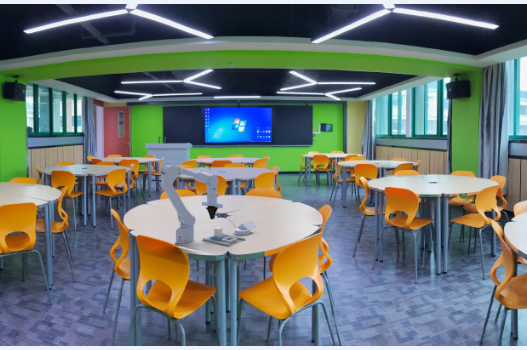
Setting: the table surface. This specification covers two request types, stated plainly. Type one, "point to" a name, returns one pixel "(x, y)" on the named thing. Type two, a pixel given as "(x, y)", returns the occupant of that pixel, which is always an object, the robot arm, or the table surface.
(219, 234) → the plug
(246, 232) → the wedge on round base
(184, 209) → the robot arm
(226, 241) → the grey tray
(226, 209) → the table surface
